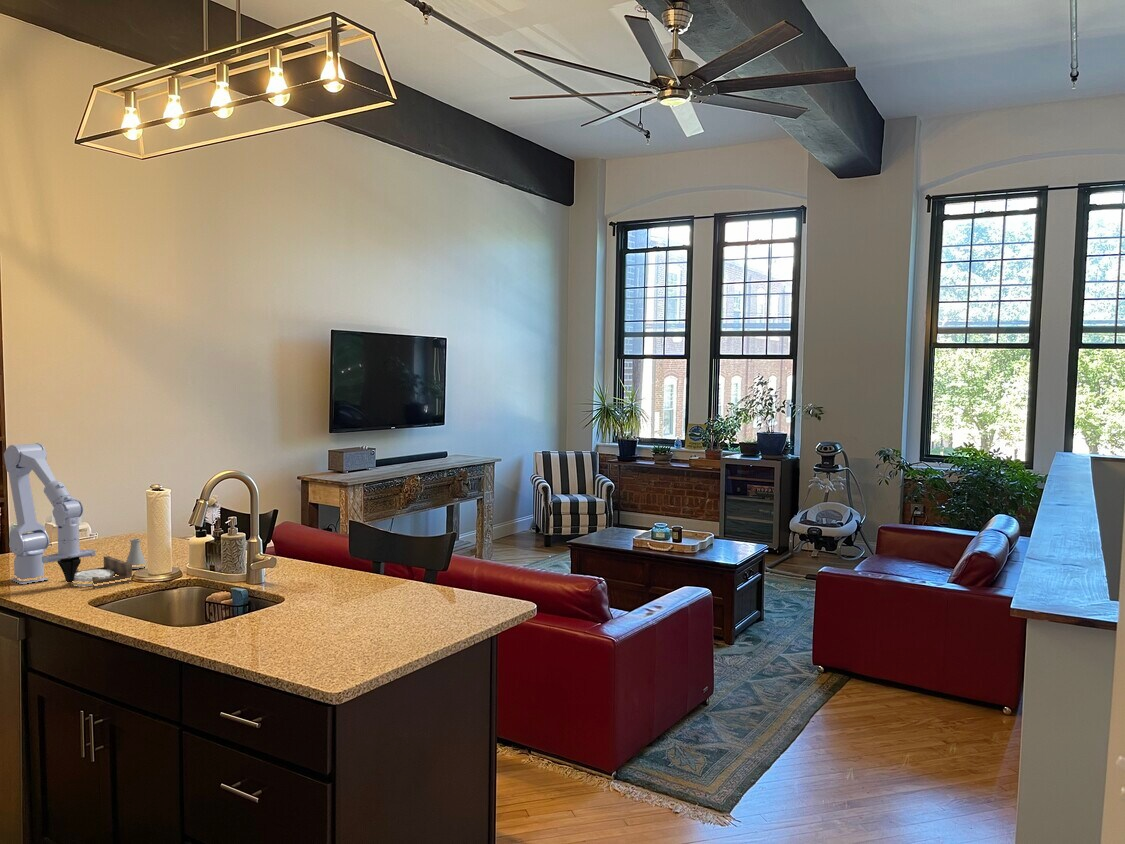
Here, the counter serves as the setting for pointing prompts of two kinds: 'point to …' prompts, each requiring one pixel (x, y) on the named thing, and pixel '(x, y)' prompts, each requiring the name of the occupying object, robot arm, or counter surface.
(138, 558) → the flask
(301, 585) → the counter surface
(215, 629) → the counter surface
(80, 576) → the mooncake
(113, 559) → the lid holder
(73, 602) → the counter surface
